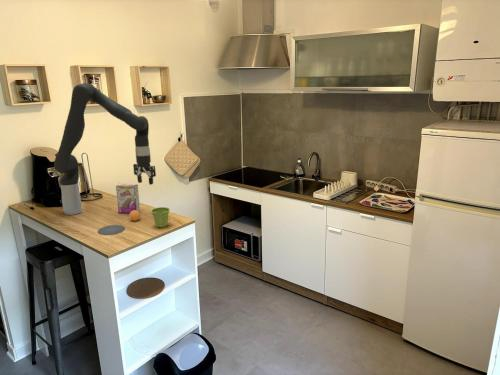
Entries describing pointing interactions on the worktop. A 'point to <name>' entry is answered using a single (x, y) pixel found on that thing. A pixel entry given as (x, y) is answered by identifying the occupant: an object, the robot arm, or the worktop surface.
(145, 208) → the worktop surface
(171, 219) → the worktop surface
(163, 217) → the plant pot
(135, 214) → the ball
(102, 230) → the disc
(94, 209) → the worktop surface
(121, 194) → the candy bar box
